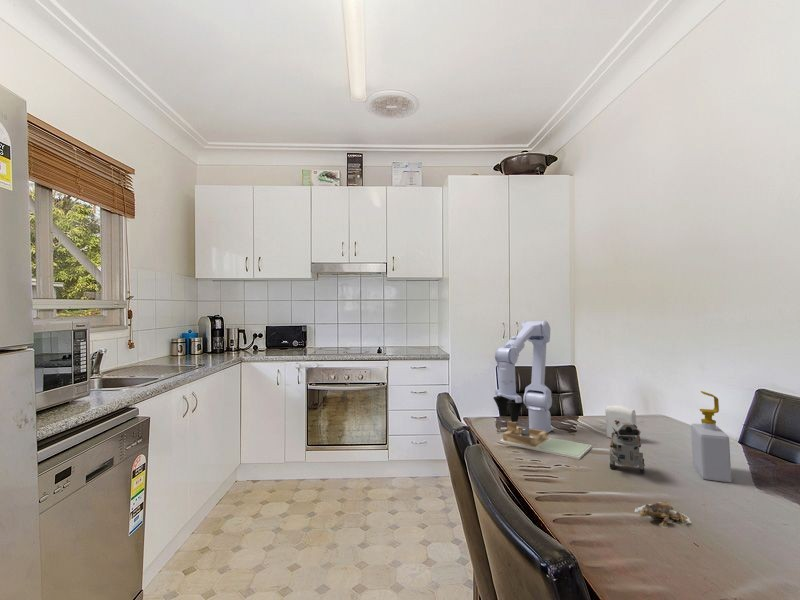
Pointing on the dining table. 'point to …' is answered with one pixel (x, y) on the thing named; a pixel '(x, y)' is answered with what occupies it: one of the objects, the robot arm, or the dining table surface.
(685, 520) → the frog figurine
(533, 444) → the wooden square frame
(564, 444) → the mat
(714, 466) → the soap bottle
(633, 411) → the photo printer
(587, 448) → the board
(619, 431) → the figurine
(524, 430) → the peg
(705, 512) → the dining table surface
